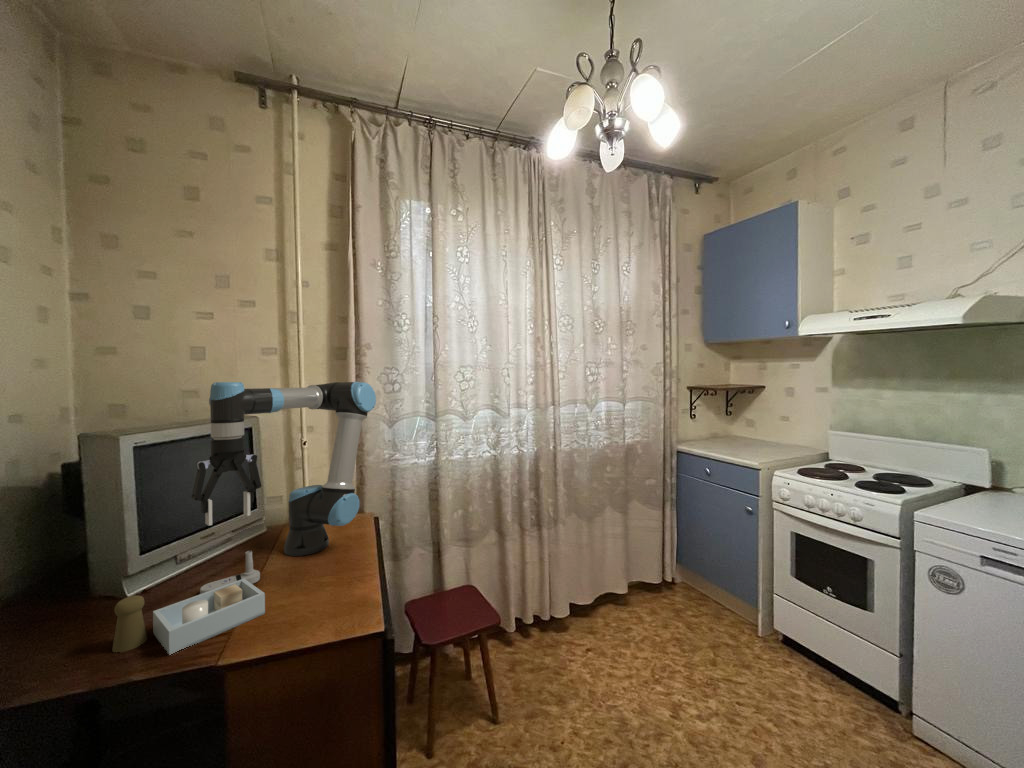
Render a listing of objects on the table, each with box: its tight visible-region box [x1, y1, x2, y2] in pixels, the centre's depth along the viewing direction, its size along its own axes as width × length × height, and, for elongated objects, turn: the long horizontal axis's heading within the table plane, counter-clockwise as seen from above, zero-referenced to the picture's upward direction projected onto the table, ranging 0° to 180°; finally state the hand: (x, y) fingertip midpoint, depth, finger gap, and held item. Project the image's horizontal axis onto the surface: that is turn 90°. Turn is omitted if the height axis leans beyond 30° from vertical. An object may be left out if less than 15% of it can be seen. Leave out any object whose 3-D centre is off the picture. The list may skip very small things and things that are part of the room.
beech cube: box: [214, 584, 242, 611], centre depth 107 cm, size 5×5×5 cm
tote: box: [152, 579, 266, 656], centre depth 101 cm, size 20×14×6 cm
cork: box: [111, 595, 148, 654], centre depth 94 cm, size 6×6×11 cm
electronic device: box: [199, 550, 261, 595], centre depth 120 cm, size 5×10×15 cm
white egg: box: [182, 600, 208, 624], centre depth 96 cm, size 5×5×7 cm
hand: (228, 519), depth 107 cm, fingers open, 8 cm apart
